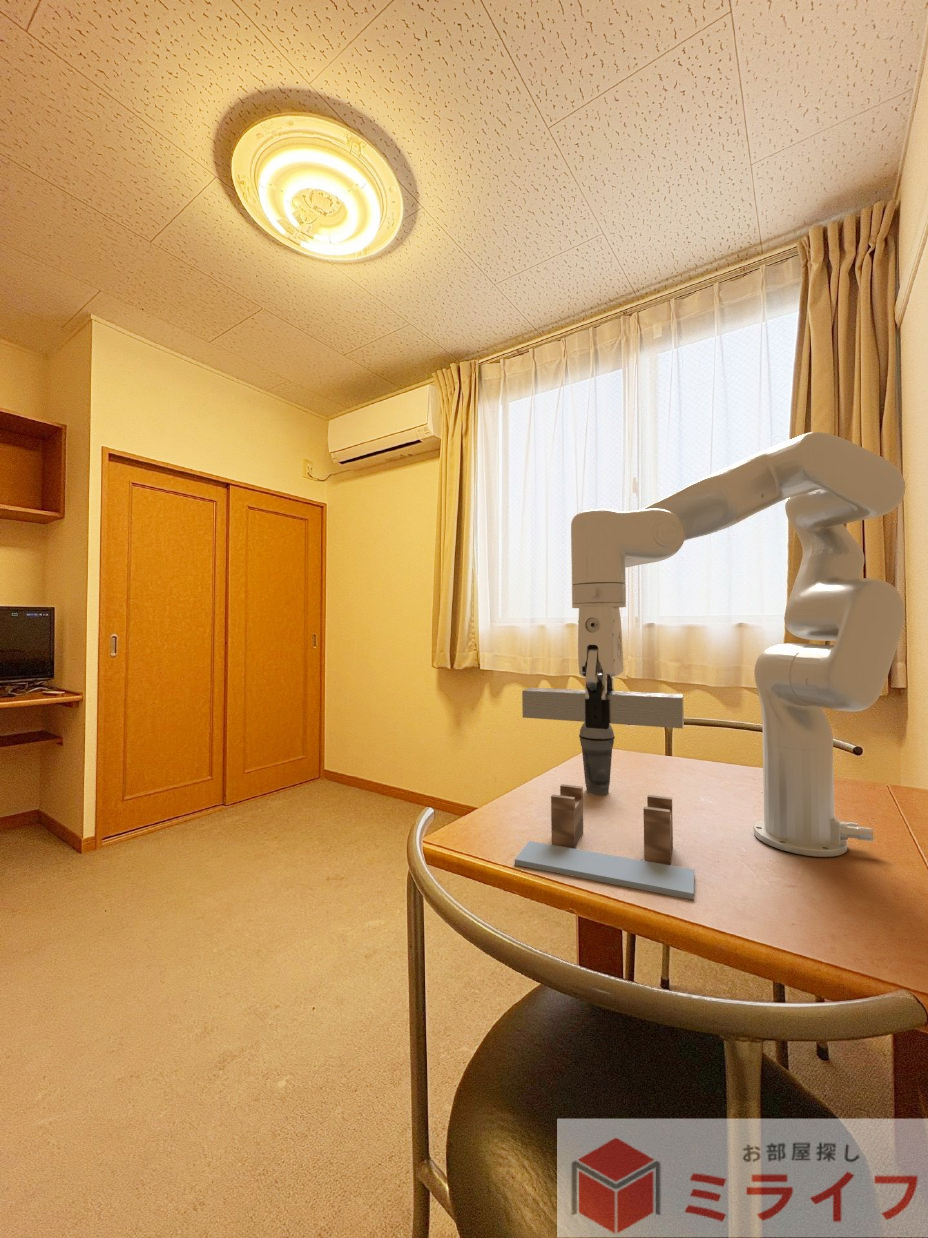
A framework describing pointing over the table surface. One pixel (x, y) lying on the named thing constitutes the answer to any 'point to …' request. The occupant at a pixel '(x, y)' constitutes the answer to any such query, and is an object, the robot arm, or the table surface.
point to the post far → (567, 816)
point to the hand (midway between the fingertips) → (600, 723)
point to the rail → (621, 707)
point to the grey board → (609, 869)
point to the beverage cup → (597, 758)
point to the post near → (658, 830)
